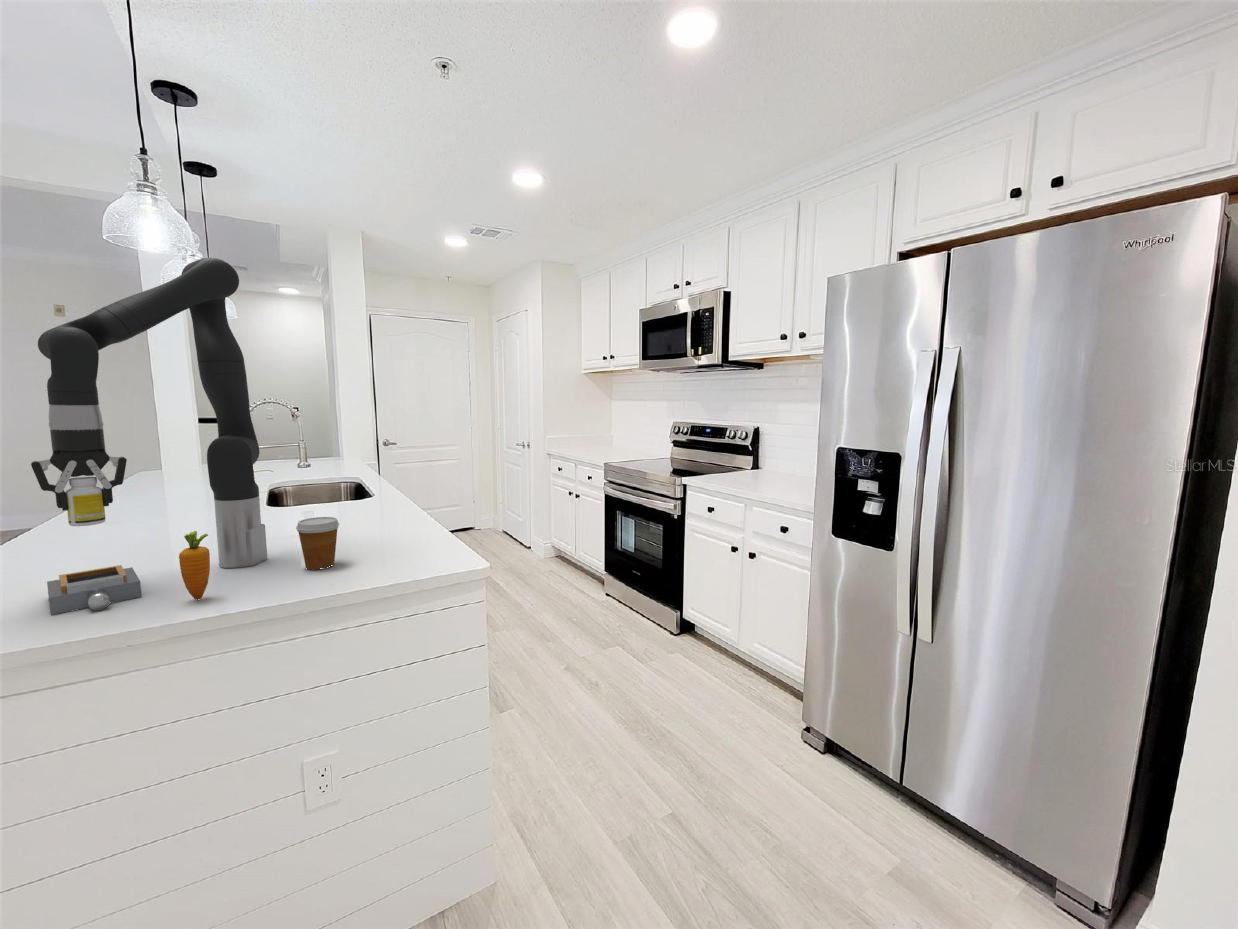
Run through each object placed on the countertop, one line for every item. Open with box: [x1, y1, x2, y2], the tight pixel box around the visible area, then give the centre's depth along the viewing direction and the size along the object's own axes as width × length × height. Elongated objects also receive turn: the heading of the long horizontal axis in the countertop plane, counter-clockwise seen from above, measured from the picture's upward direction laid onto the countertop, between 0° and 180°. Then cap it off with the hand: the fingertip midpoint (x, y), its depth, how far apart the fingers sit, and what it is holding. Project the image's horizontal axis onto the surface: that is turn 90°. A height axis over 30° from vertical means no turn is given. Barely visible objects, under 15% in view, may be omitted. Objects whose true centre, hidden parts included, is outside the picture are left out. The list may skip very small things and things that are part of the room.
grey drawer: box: [46, 564, 143, 616], centre depth 106 cm, size 13×17×5 cm
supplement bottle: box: [65, 476, 106, 527], centre depth 106 cm, size 5×5×10 cm
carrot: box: [178, 530, 211, 601], centre depth 106 cm, size 5×5×15 cm
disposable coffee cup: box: [295, 516, 340, 571], centre depth 129 cm, size 10×10×12 cm
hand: (85, 507), depth 106 cm, fingers closed on supplement bottle, 5 cm apart
